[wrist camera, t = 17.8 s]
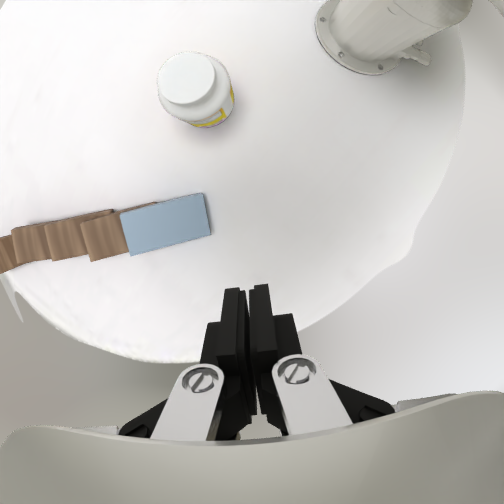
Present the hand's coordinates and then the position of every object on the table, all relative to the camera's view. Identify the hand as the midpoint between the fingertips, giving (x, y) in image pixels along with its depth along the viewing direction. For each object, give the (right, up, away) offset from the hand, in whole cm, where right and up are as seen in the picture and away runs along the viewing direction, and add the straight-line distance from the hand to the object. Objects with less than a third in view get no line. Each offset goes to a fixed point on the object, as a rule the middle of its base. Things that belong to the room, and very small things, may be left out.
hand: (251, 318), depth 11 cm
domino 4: (-12, +6, +23) cm, 27 cm away
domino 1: (-34, +4, +22) cm, 41 cm away
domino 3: (-18, +6, +23) cm, 30 cm away
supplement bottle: (-5, +21, +20) cm, 29 cm away
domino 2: (-25, +5, +23) cm, 35 cm away
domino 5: (-6, +7, +23) cm, 25 cm away
